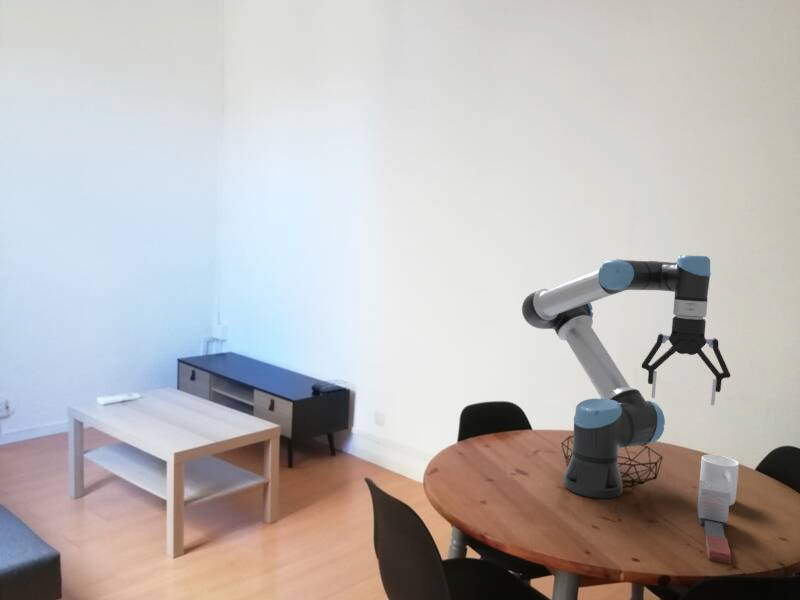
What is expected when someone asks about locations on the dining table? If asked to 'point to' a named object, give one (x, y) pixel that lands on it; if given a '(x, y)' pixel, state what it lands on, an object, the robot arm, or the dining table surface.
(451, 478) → the dining table surface
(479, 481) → the dining table surface
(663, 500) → the dining table surface
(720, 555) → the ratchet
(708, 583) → the dining table surface
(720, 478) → the mug
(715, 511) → the white ridged cube
